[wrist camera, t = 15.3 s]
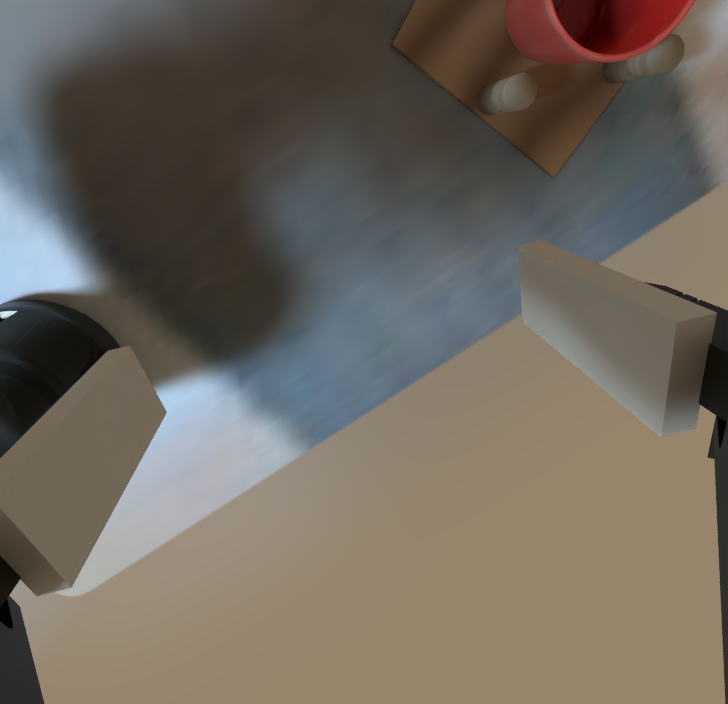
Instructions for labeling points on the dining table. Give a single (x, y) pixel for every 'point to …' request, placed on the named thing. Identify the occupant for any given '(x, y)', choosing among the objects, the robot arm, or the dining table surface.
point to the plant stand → (518, 76)
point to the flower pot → (591, 28)
